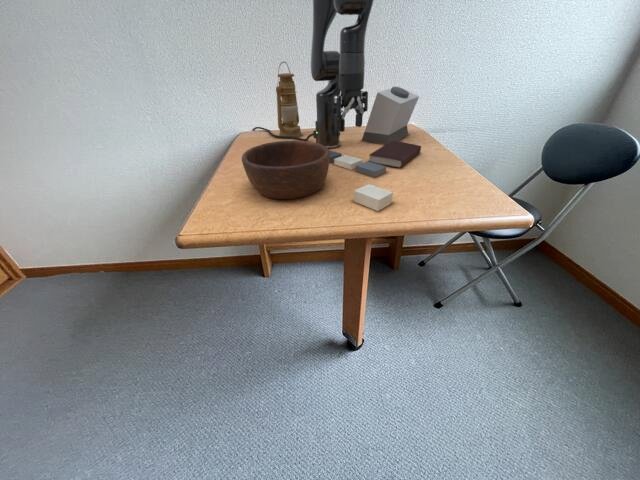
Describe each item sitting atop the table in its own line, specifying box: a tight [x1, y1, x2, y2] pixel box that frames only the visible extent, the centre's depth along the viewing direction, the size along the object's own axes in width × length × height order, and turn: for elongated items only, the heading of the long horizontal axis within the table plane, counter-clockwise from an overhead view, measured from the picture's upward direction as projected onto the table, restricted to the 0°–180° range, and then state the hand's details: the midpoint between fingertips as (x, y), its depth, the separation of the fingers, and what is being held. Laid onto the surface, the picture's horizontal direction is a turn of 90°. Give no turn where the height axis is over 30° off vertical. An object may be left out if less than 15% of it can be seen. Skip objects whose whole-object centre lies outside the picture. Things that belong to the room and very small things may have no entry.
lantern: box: [275, 61, 302, 138], centre depth 125 cm, size 15×10×30 cm
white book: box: [333, 154, 363, 171], centre depth 97 cm, size 8×6×2 cm
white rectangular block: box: [353, 183, 394, 212], centre depth 73 cm, size 8×6×3 cm
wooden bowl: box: [241, 140, 331, 200], centre depth 81 cm, size 25×25×10 cm
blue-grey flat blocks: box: [329, 149, 387, 178], centre depth 97 cm, size 28×6×2 cm, turn 43°
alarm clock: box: [361, 86, 420, 145], centre depth 119 cm, size 20×16×20 cm
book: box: [368, 141, 422, 169], centre depth 101 cm, size 12×19×3 cm, turn 145°
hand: (350, 128), depth 90 cm, fingers open, 8 cm apart
